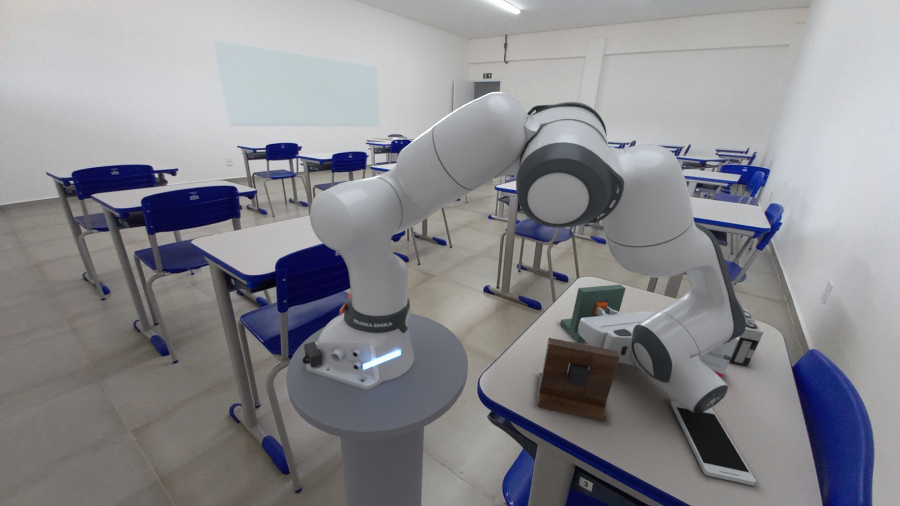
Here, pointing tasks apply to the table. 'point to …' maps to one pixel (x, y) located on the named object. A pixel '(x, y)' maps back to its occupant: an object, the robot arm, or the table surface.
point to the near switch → (578, 374)
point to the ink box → (720, 357)
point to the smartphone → (712, 445)
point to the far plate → (592, 305)
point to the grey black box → (747, 342)
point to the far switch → (599, 304)
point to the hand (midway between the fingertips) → (601, 309)
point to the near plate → (569, 396)
